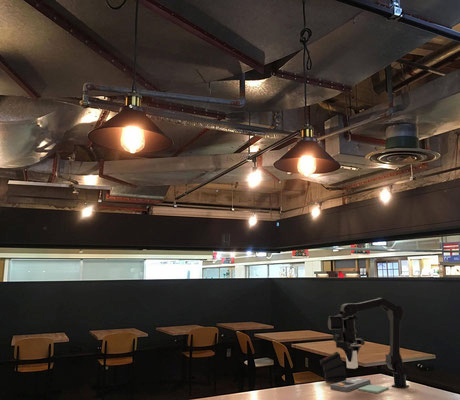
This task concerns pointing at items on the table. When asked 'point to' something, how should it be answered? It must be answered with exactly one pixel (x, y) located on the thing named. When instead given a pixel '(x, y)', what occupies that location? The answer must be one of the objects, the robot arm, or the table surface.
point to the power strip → (350, 384)
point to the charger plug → (352, 361)
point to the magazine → (333, 368)
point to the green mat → (373, 388)
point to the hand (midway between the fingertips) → (352, 361)
